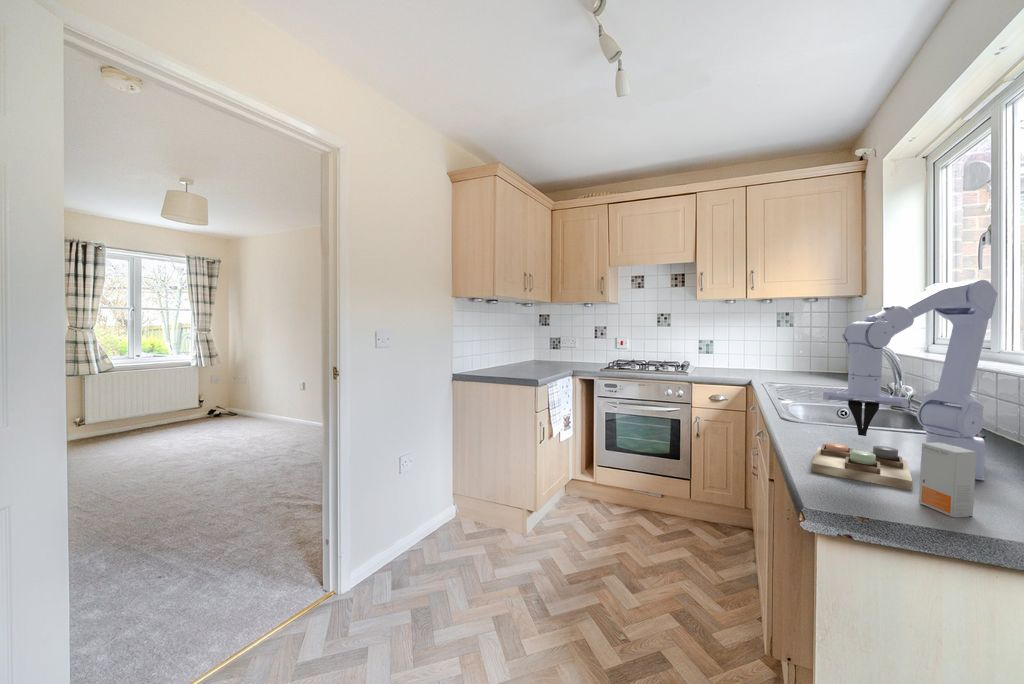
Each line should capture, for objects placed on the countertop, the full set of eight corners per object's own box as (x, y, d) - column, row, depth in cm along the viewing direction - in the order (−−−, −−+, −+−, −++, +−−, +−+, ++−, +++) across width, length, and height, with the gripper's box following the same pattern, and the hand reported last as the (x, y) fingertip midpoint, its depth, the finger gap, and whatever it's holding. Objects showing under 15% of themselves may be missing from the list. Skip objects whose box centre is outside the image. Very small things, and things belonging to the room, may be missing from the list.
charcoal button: (897, 455, 99) (897, 448, 98) (898, 460, 95) (898, 452, 95) (872, 451, 101) (872, 444, 101) (872, 456, 98) (873, 448, 98)
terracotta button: (848, 452, 105) (848, 445, 105) (847, 456, 102) (847, 449, 102) (826, 449, 108) (826, 442, 108) (825, 453, 105) (825, 446, 105)
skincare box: (917, 503, 81) (920, 442, 80) (937, 502, 81) (940, 441, 81) (953, 518, 75) (956, 452, 74) (974, 517, 75) (978, 451, 75)
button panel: (906, 468, 100) (907, 455, 100) (911, 490, 87) (912, 475, 87) (818, 454, 111) (818, 442, 110) (811, 471, 98) (812, 458, 98)
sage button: (875, 460, 95) (875, 452, 95) (875, 465, 92) (875, 457, 92) (850, 456, 98) (850, 449, 98) (849, 461, 95) (850, 453, 94)
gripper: (822, 374, 96) (820, 432, 97) (910, 379, 86) (907, 444, 87) (825, 371, 101) (823, 426, 102) (908, 376, 92) (905, 437, 92)
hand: (862, 434), depth 95 cm, fingers closed
